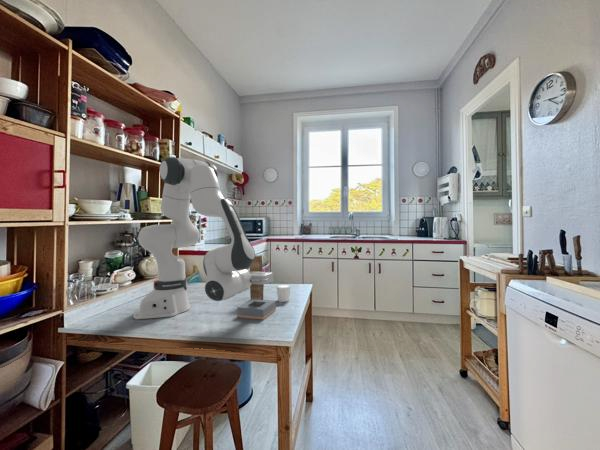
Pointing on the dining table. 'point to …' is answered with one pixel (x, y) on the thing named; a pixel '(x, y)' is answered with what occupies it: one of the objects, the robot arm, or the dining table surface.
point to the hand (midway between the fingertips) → (257, 273)
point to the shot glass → (283, 292)
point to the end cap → (256, 309)
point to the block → (256, 289)
